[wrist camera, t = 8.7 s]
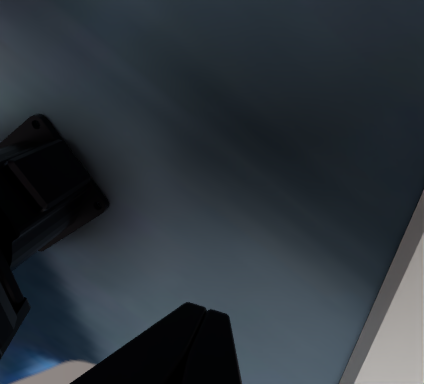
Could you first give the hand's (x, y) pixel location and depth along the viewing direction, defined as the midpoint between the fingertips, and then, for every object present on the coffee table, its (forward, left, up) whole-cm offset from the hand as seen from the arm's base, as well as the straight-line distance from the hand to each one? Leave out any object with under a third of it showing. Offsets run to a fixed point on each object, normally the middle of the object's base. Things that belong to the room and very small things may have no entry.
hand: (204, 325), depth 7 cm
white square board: (+10, -18, -13) cm, 24 cm away
